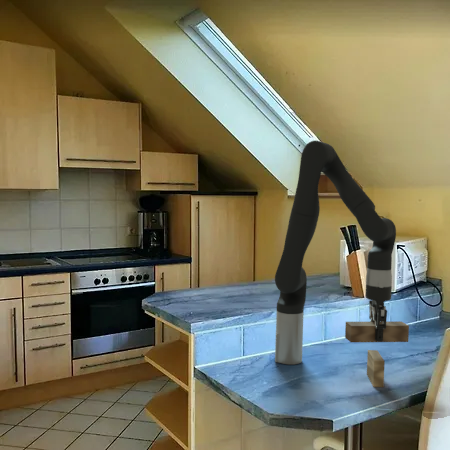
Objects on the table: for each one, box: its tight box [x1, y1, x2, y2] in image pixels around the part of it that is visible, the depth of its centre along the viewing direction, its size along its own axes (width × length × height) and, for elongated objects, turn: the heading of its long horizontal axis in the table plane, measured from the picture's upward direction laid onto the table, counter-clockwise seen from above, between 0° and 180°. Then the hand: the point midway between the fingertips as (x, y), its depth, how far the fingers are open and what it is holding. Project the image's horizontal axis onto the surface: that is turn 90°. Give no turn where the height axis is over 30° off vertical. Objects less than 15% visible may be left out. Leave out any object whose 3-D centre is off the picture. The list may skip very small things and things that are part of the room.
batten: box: [344, 321, 410, 343], centre depth 148 cm, size 18×5×5 cm, turn 95°
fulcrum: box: [366, 349, 385, 388], centre depth 148 cm, size 3×10×8 cm, turn 174°
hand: (376, 337), depth 148 cm, fingers closed on batten, 5 cm apart
